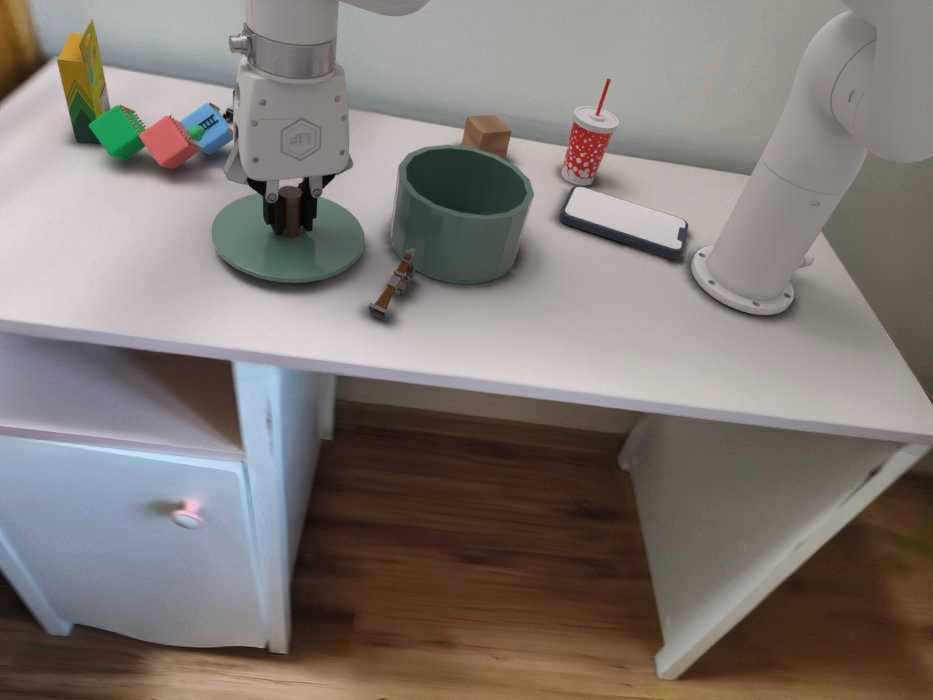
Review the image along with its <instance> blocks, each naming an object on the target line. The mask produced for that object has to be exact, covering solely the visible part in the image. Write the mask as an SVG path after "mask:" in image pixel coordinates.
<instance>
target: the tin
mask: <svg viewBox="0 0 933 700" xmlns="http://www.w3.org/2000/svg"><path fill="white" fill-rule="evenodd" d="M395 183H396V184H395V191H394V199H393V206H392V207H393V208H392V213H391V214H392V215H391V221H390V236H389V237H390V243H391V246H392V249H393V251H394V252H395V254H396V255H397V256H398V258H399V259H400V260H401V259H402V258H403V256H404V254H405V253H406V250H409V249H411V248H414V249H415V251H416V252H415V257H416V258H415V259H414V260H413V262H412V263H413V268H414V270H415V271H416V272H418V273H420V274H422V275H424V276H425V277H430V278H431V279H433V280H437V281H441V282H445V283H449V284H459V285H477V284H483V283H487V282H492V281H494V280H497V279H499V278H501V277H502V276H504V275H505V274H506V273H508V272H509V271H510V269H511V268H512V266H513V265H514V263H515V261H516V257H517V255H518V252H519V249H520V245H521V241H522V238H523V234H524V231H525V227H526V225H527V221H528V218H529V214H530V211H531V207H532V203H533V200H534V196H535V193H534V190H533V185H532V182H531V180H530V179H529V177H528V176H526V175H525V173H524V172H523V171H521V169H520V168H519V167H518V166H517V165H515V164H514V163H511V162H510V161H508V160H506V159H505V160H504V159H502V158H501V157H499V156H497V155H494V154H491V153H488V152H485V151H482V150H479V149H475V148H471V147H463V146H461V145H454V144H441V145H431V146H428V145H427V146H423V147H421V148H418V149H416V150H413V151H411V152H409V153H408V154H406V155H405V157H404V158H403V159H402V160H401V162H400V163H399V164H398V168H397V175H396V182H395Z"/></svg>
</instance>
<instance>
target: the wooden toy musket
mask: <svg viewBox="0 0 933 700" xmlns="http://www.w3.org/2000/svg"><path fill="white" fill-rule="evenodd" d="M415 252H416V251H415V249H414V248H411V249H409V250H406V253H405V254H404V256H403V258H402V259H400V263H399V265H398V267H397V268H396V269H395V270H394V271H392V272H393V274H391V276H390V279H389V280H388V281H387V283H386V287H385V288H384V290H383V292H382V293H381V295H379V296H378V299H377V300H376V301H375V302H374V303H372V302H370V303H369V304H368V305H367V308H368V311H369V314H370V315H372V316H374V317H376V318H379V319H381V320H384V321H387V318H388V314H387V309H388V307H389V304H390V303H391V300H392V297H393V295H394V294H395V295H396V296H401V294H402V295H404V294H405V293H404V292H405V290H406V288H407V287H408V288H409V280H410V279H413V278H414V276H415V273H416V272H415V271H416V270H414V268H413V263H412V262H413V260H414V259H415V258H416V257H415ZM409 278H410V279H409Z"/></svg>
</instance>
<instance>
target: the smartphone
mask: <svg viewBox="0 0 933 700" xmlns="http://www.w3.org/2000/svg"><path fill="white" fill-rule="evenodd" d="M558 219H559V221H560V222H561V223H563V224H564V225H567V226H570V227H573V228H577V229H579V230H581V231H585V232H588V233H591V234H595V235H598V236H601V237H604V238H607V239H610V240H613V241H616V242H619V243H621V244H625V245H628V246H631V247H635V248H637V249H641V250H644V251H646V252H650V253H653V254H655V255H660V256H662V257H666V258H669V259H672V260H677V259H681V257H682V256H683V253H684V251H685V247H686V241H687V236H688V231H689V223H688V221H686V220H685V219H684V218H681V217H679V216H676V215H673V214H670V213H666V212H663V211H660V210H657V209H653V208H651V207H648V206H645V205H641V204H638V203H635V202H632V201H628V200H626V199H622V198H619V197H616V196H613V195H610V194H607V193H603V192H601V191H597V190H594V189H590V188H588V187H585V186H582V185H574V186H572V187H571V188H570V190H569V193H568V195H567V197H566V198H565V201H564V203H563V205H562V207H561V209H560V213H559V218H558Z"/></svg>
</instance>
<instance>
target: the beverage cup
mask: <svg viewBox="0 0 933 700" xmlns="http://www.w3.org/2000/svg"><path fill="white" fill-rule="evenodd" d="M610 83H611V78H607V79H606V81H605V84H604V88H603V90H602V93H601V96H600V99H599V102H598V106H592V105H581V106H577V107H576V108H575V109H574V112H573V115H572V119H573V122H572V127H571V131H570V135H569V138H568V143H567V148H566V151H565V156H564V160H563V164H562V168H561V172H560V175H561V177H562V178H563V179H564V180H565V181H567V182H569V183H570V184H572V185H575V186H581V187H585V186H590V185H591V184H592V183H593V182H594V179H595V177H596V175H597V173H598V170H599V168H600V165H601V163H602V160H603V158H604V156H605V154H606V151H607V149H608V146H609V144H610V142H611V139H612V137H613V134H614V133H615V132H616V131H617V129H618V128H619V124H620V120H619V119H618V117H617V116H616V115H615V114H613V113H612V112H610V111H608V110H606V109H604V108H603V104H604V102H605V99H606V95H607V92H608V90H609V86H610Z"/></svg>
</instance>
